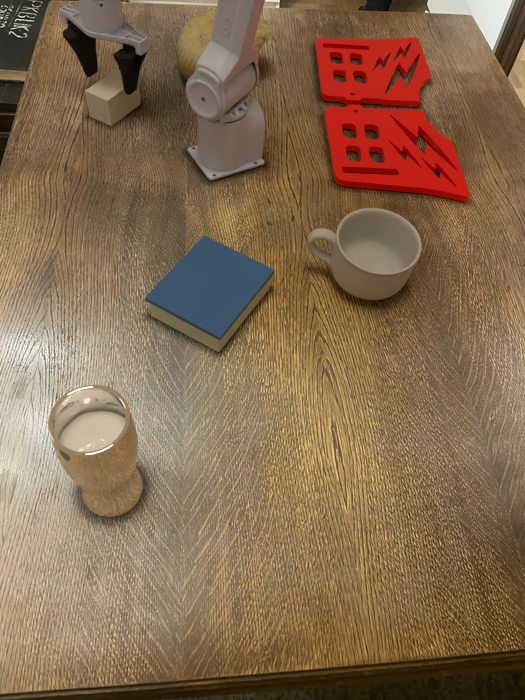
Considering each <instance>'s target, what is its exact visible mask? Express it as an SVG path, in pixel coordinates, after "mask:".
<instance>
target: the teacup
mask: <svg viewBox="0 0 525 700" xmlns="http://www.w3.org/2000/svg"><path fill="white" fill-rule="evenodd" d="M317 240H325V241H327V242H328V243H329V246H330V249H331V253H330V252H328V251H326V250H324V249H322V248H320V246H319V245H317V244H316V241H317ZM306 246H307V249H308V252H309V253H310V254H311V255H313V256H314V257H315V258H316V259H318V260H320V261H321V262H323V263H324V264H325V265H326V267H329V268H330V270H331V273H332V276H333V278H334V280H335V282H336V283H337V284H338V286H339V287H340V288H341V289H342V290H343V291H345V292H346V293H348V294H349V295H351V296H353V297H355V298H358V299H361V300H366V301H380V300H385V299H387V298H390V297H392V296H394V295H396V294H397V293H398V292H399V291H400V290H401V289H402V288H403V287H404V286H405V285H406V283H407V282H408V281H409V278H410V276H411V275H412V272H413V270H414V268H415V265H416V264H417V263H418V261H419V259H420V258H421V255H422V250H423V243H422V239H421V236H420V234H419V232H418V230H417V228H416V227H415V226H414V225H413V224H412V223H411V222H410V221H409V220H408V219H406V218H404V217H403V216H402V215H400V214H398V213H396V212H393V211H391V210H388V209H385V208H379V207H365V208H364V207H363V208H359V209H356V210H353V211H351V212H350V213H347V214H346V215H345V216H344V217H343V218H342V219H341V220H340V222H339V224H338V225H337V228H336V232H334V231H332V230H331V229H328V228H326V227H319V228H315V229H313V230H312V231H310V232H309V234H308V236H307V239H306Z"/></svg>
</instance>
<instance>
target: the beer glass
mask: <svg viewBox="0 0 525 700" xmlns="http://www.w3.org/2000/svg"><path fill="white" fill-rule="evenodd" d="M47 430H48V435H49V436H50V438H51V439H50V440H51V443H52V446H53V449H54V452H55V455H56V457H57V460H58V462H59V463H60V465H61V467H62V469H63V470H64V471H65V473H66V474H67V475H68V476H69V478H71V479H72V480H73V481H74V482H75V483H76V484H77V485H78V486H79V487H81V496H82V500H83V503H84V505H85V506H86V508H87V509H88V510H89V511H90V512H92V513H94V514H95V515H97V516H99V517H102V518H103V517H104V518H114V517H119V516H122V515H124V514H127V513H129V512H130V511H131V510H132V509H133V508H134V507H135V506H136V505H137V504H138V502H139V501H140V499H141V497H142V494H143V489H144V481H143V477H142V474H141V472H140V470H139V469H138V468H137V461H138V457H139V456H138V455H139V439H138V438H139V437H138V431H137V428H136V424H135V421H134V418H133V416H132V413H131V410H130V408H129V404H128V402H127V400H126V398H124V397H123V395H122V394H120V392H118V391H117V390H115V389H113V388H112V387H108V386H107V385H106V386H105V385H101V384H100V385H99V384H87V385H83V386H78V387H76V388H73V389H71V390H70V391H68V392H66V393H65V394H63V395H62V396H61V397H60V398H59V399H58V400H57V401H56V402H55V404H53V407H52V409H51V410H50V413H49V416H48V421H47Z"/></svg>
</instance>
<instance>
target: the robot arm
mask: <svg viewBox="0 0 525 700" xmlns="http://www.w3.org/2000/svg"><path fill="white" fill-rule="evenodd" d="M265 2H266V0H217V5H216V9H215V10H216V14H215V19H214V24H213V29H212V34H211V39H210V42H209V44H208V45H207V47H206V49H205V50H204V52H203V53H202V55H201V57H200V58H199V60H198V62H197V64H196V69H195V72H194V74H193V75H192V76H191V77H190V78H189V79H188V81H187V80H186V83H185V95H186V99H187V102H188V103H189V106H190V107H191V109H192V111H194V114H196V123H197V124H196V127H197V129H196V130H197V144H196V145H192V146H189V147H187V153H188V154H189V155H190V157H191V158H192V159H193V161H194V162H195V164H196V165H197V166H198V168H199V169H200V170H201V171H202V173H203V174H204V176H205V177H206V178H207V179H208V181H215V180H218V179H222V178H225V177H228V176H231V175H235V174H238V173H242V172H245V171H248V170H251V169H255V168H257V167H261V166H264V165H265V160H264V159H263V155H264V153H263V152H264V141H265V140H264V139H265V130H266V122H265V115H264V112H263V111H264V110H263V109H262V107H261V105H260V103H259V100H257V99H256V98H255V97H253V96H251V92H253V91H254V90H255V89H256V88H257V87H258V84H259V82H260V71H259V70H260V69H259V57H260V55H261V50H258V48H257V47H256V46H255V45H254V44H253V43H254V39H255V36H256V32H257V28H258V24H259V21H260V18H262V17H261V16H262V13H263V10H264V5H265ZM78 4H79V6H76V5H73V4H69V3H67V4H66V5H64V6H61V8H59V9H58V11H59V15H60V21H61V23H63V24H65V25H67V26H66V28H65V29H64V30H63V31H62V38H63V39H64V40H65V41H66V42H67V44H68V45H69V46H70V47H71V49H72V50H73V52H74V54H75V56H76V58H77V60H78V61H79V63H80V66H81V68H82V71H83V73H84V75H85V76H86V77H87V78H91V77H93V76H94V75H95V74H97V73H98V72H99V71H98V70H99V63H98V62H99V61H98V53H97V40H101V41H107V42H113V43H117V44H120V45H122V48H120V49H118V50H116V51H115V52H114V53H113V54H112V55H113V59H114V60H115V62H116V64H117V66H118V70H119V71H120V72H121V76H122V82H123V88H124V91H125V94H128V95H130V94H131V93H133V92H134V91H135V90H137V84H138V83H139V76H140V73H141V69H142V66H143V63H144V61H145V58H146V56H147V54H148V52H149V51H150V41H149V40H150V39H149V36H147V35H145V34H143V33H142V32H140V31H139V30H137V29H136V28H135V27H134V26H133V25H131V24H130V23H129V22H128V21H127V20H126V14H125V13H124V12H123V7H122V0H78Z"/></svg>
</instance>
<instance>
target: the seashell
mask: <svg viewBox="0 0 525 700" xmlns="http://www.w3.org/2000/svg"><path fill="white" fill-rule="evenodd" d="M215 14H216V9H214V8H209V9H208V10H207V11H206V12H202V13H198V14H195V15H194V16H193V17H192V18H191V19H189V20H188V21H187V22H186V23H185V24H184V26H183V28H182V29H180V31H179V34H178V37H177V39H176V44H175V59H176V63H177V67H178V69H179V71H180V74H181V75H183V77H184V79H185V81H186V82H187V81H188V79H189V78H190V77H191V76H192V75H193V74H194V72H195V69H196V64H197V62H198V60H199V58H200V57H201V55H202V53H203V52H204V50H205V49H206V47H207V45H208V44H209V42H210V39H211V34H212V29H213V24H214V19H215ZM272 36H274V26H273V25H270V23H269V22H268V21H267V20H266V19H264V18H263V17H260V21H259V24H258V28H257V32H256V36H255V39H254V43H253V44H254V45H255V46H256V47H257V48H258V50H259V51H261V48H262V47H263V46H264V45H265V44H266V43H267V42H269V41H270V39H271V38H272Z"/></svg>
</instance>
